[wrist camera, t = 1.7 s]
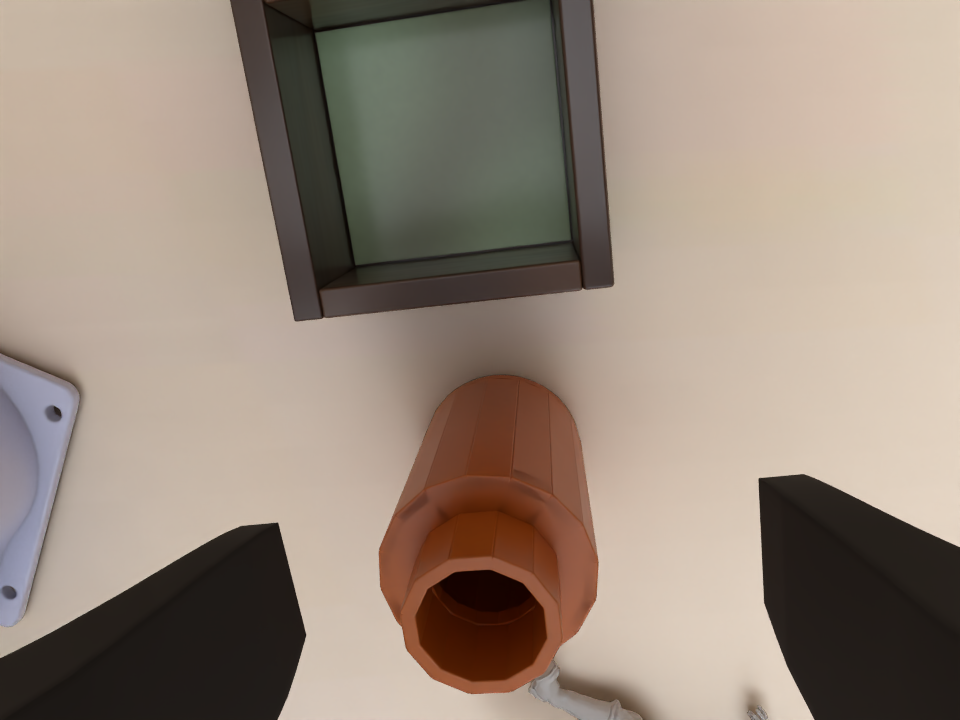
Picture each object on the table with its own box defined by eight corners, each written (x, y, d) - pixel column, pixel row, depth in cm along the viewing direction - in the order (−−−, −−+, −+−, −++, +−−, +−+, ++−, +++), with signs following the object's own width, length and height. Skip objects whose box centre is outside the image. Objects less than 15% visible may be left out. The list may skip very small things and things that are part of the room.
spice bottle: (540, 537, 22) (542, 760, 14) (405, 480, 22) (326, 673, 14) (605, 411, 21) (648, 577, 13) (461, 350, 21) (411, 477, 12)
